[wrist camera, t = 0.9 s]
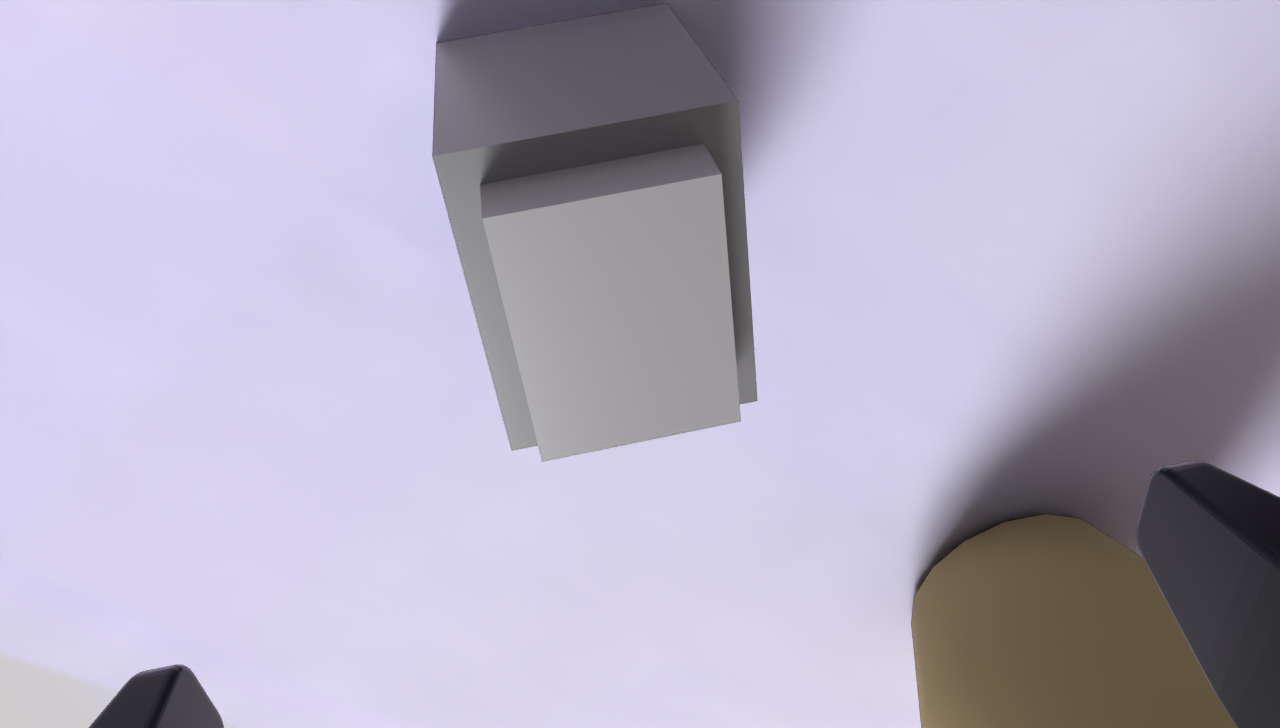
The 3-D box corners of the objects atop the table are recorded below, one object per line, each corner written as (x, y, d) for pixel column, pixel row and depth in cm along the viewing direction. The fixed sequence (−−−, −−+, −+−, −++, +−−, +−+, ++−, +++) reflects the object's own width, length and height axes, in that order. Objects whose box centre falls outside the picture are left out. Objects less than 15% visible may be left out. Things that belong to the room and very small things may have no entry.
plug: (666, 2, 16) (758, 128, 11) (692, 254, 19) (775, 440, 14) (435, 42, 16) (430, 188, 11) (498, 291, 19) (514, 493, 14)
